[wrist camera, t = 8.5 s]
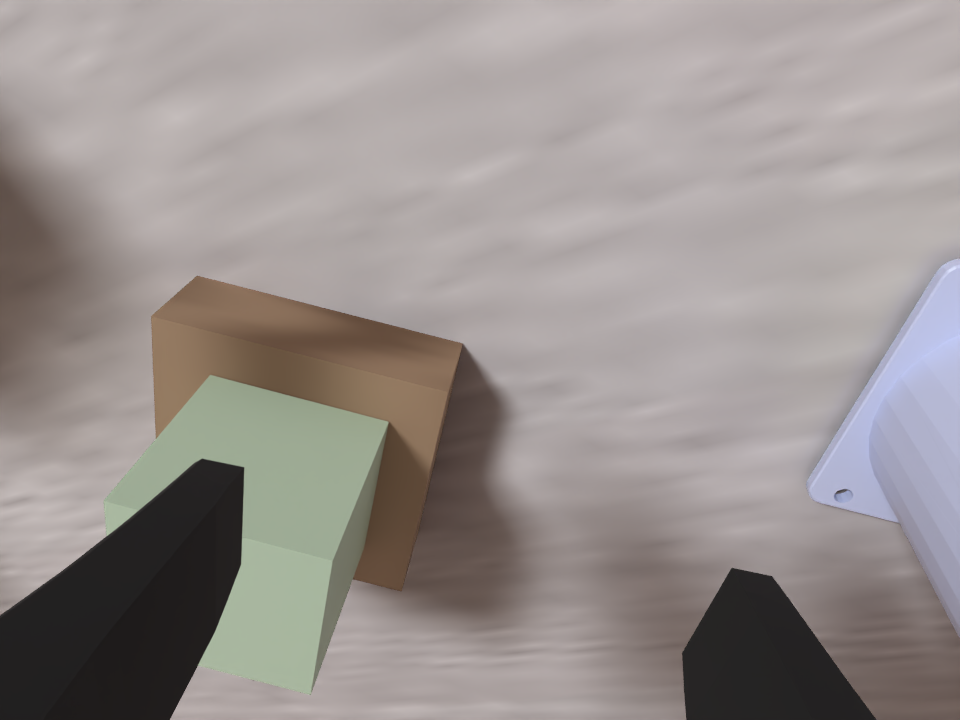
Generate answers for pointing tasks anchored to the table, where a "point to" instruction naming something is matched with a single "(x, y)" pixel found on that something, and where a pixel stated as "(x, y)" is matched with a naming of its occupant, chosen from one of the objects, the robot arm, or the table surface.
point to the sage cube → (273, 518)
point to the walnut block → (319, 388)
